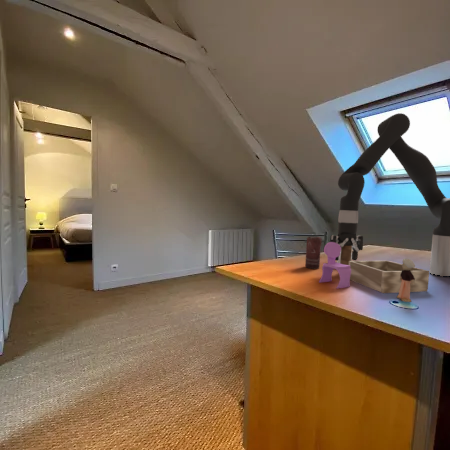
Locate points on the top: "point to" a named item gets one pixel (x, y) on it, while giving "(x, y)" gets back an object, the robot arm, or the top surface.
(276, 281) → the top surface
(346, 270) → the toy chair
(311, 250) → the can
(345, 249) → the peg
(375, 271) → the crate
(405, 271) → the grandmother figurine
